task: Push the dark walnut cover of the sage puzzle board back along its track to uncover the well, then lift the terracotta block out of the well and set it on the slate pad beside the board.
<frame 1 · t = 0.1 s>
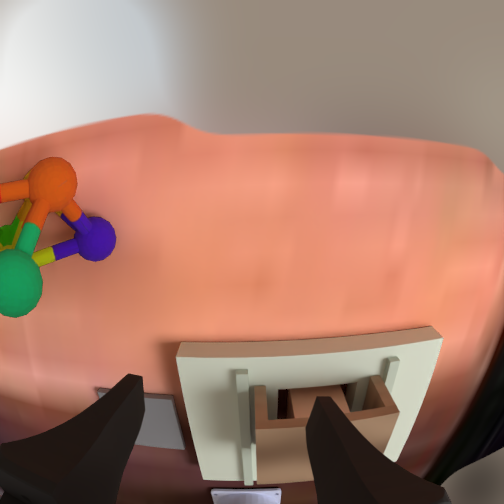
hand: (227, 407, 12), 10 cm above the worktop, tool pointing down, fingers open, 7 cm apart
walnut cover: (320, 433, 20), point 4 cm above the worktop, slide at 0.0 cm
slate pad: (143, 419, 25), on the worktop
molecular model: (55, 213, 20), on the worktop
puzzle board: (309, 413, 24), on the worktop
terracotta block: (311, 397, 24), resting in puzzle board
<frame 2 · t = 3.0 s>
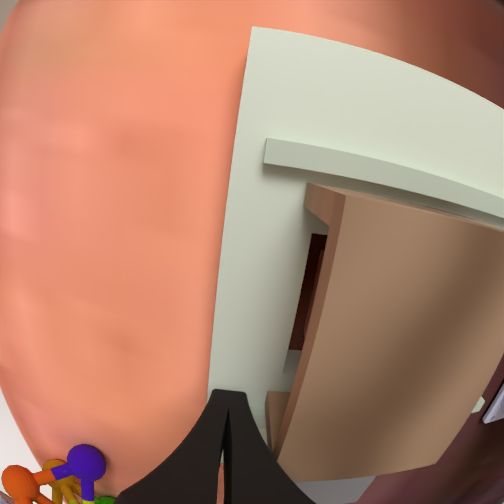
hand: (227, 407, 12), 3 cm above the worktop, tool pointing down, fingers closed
walnut cover: (391, 347, 9), point 4 cm above the worktop, slide at 0.0 cm, touching gripper
slate pad: (328, 480, 18), on the worktop
molecular model: (85, 469, 18), on the worktop
puzzle board: (391, 300, 14), on the worktop
terracotta block: (353, 296, 14), resting in puzzle board
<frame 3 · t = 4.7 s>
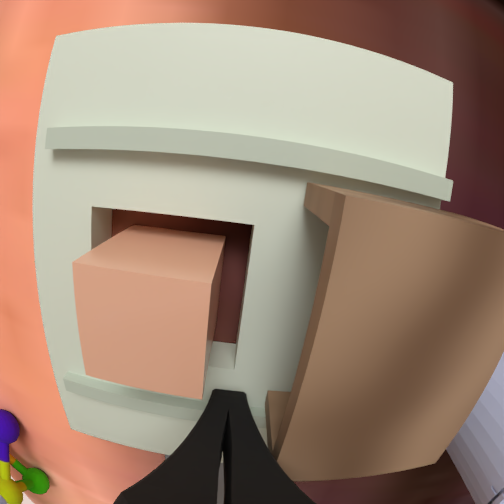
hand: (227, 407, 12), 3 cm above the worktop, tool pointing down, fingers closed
walnut cover: (390, 347, 10), point 4 cm above the worktop, slide at 8.0 cm, touching gripper
molecular model: (14, 438, 18), on the worktop
puzzle board: (220, 282, 13), on the worktop
terracotta block: (175, 275, 13), resting in puzzle board
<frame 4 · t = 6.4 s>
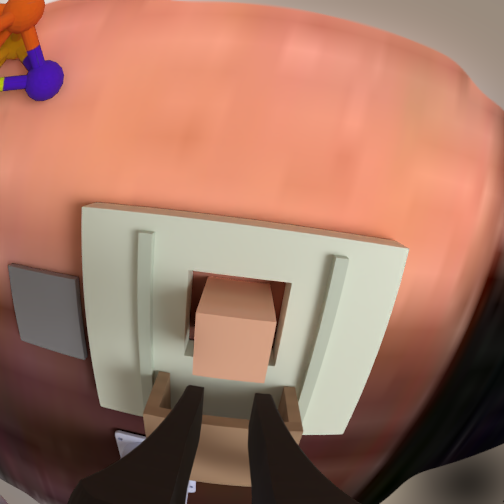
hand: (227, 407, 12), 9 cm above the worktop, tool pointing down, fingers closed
walnut cover: (220, 436, 19), point 4 cm above the worktop, slide at 8.2 cm
slate pad: (47, 310, 21), on the worktop
molecular model: (21, 70, 16), on the worktop
puzzle board: (232, 333, 21), on the worktop
terracotta block: (235, 307, 21), resting in puzzle board
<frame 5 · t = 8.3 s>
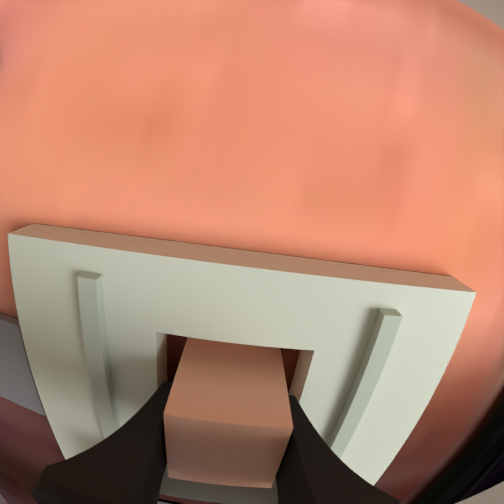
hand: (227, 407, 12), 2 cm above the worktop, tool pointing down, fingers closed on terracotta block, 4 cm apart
puzzle board: (226, 402, 15), on the worktop
terracotta block: (230, 372, 14), resting in puzzle board, touching gripper
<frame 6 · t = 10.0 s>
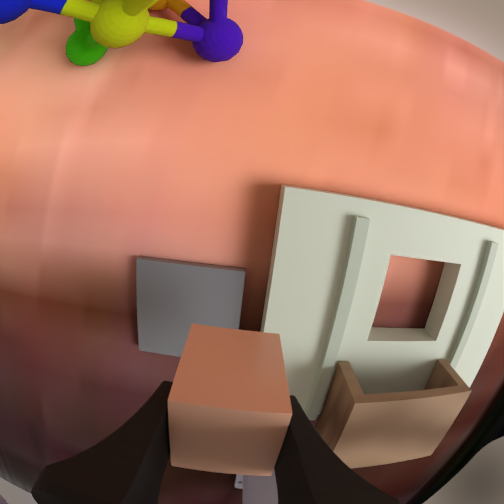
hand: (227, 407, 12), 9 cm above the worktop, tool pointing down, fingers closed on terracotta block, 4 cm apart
walnut cover: (391, 415, 19), point 4 cm above the worktop, slide at 8.2 cm
slate pad: (188, 311, 21), on the worktop
molecular model: (159, 25, 16), on the worktop
puzzle board: (397, 316, 21), on the worktop
terracotta block: (231, 363, 15), point 6 cm above the worktop, touching gripper
when the fingers open (4 cm above the worktop, at t = 11.7 s): terracotta block stays where it is, resting on slate pad.
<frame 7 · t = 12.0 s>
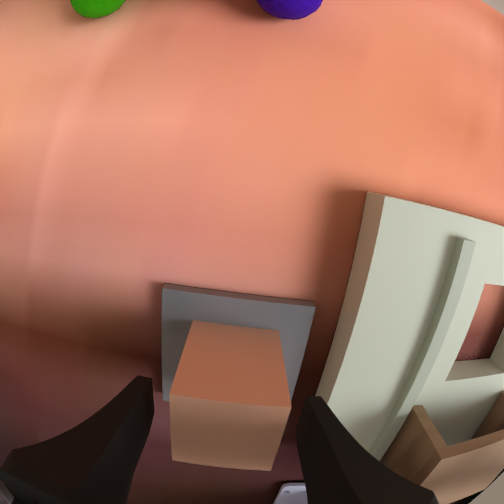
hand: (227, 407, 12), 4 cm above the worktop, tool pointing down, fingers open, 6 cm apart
walnut cover: (456, 456, 13), point 4 cm above the worktop, slide at 8.2 cm
slate pad: (231, 354, 15), on the worktop
puzzle board: (468, 347, 16), on the worktop
terracotta block: (231, 360, 15), point 1 cm above the worktop, touching slate pad
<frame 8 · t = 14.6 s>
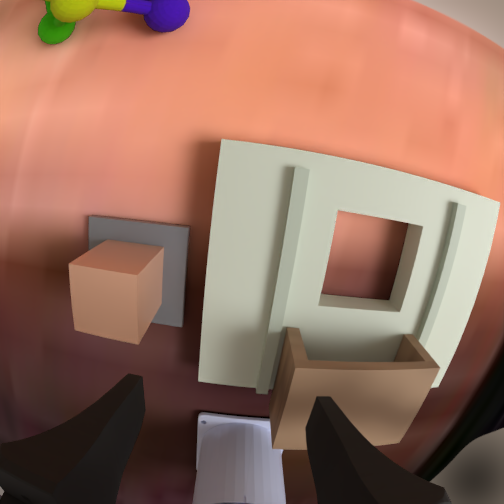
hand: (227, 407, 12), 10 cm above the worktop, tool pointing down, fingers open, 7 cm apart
walnut cover: (349, 392, 18), point 4 cm above the worktop, slide at 8.2 cm
slate pad: (136, 270, 20), on the worktop
molecular model: (121, 6, 15), on the worktop
puzzle board: (356, 283, 21), on the worktop
terracotta block: (134, 272, 20), point 1 cm above the worktop, touching slate pad
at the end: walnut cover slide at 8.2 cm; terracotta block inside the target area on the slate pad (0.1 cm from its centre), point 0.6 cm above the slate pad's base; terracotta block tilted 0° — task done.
